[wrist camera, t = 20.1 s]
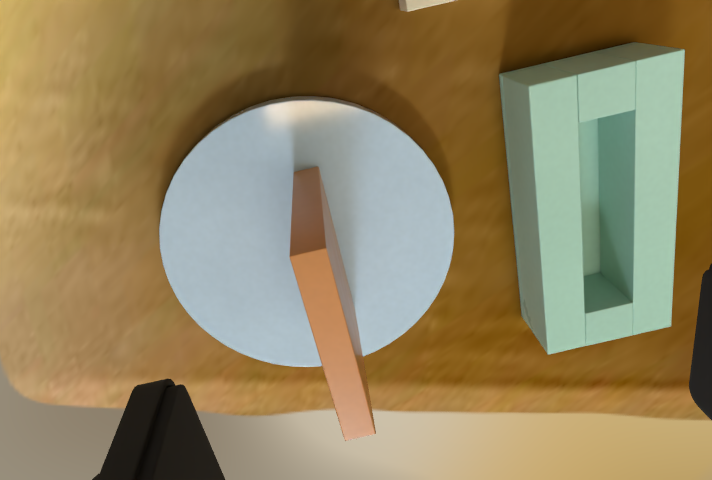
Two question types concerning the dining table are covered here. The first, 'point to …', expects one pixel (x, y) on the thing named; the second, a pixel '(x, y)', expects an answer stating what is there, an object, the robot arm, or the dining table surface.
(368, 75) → the dining table surface
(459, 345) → the dining table surface
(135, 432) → the robot arm
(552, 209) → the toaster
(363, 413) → the copper rectangular plank
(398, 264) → the plate
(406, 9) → the control block
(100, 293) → the dining table surface
